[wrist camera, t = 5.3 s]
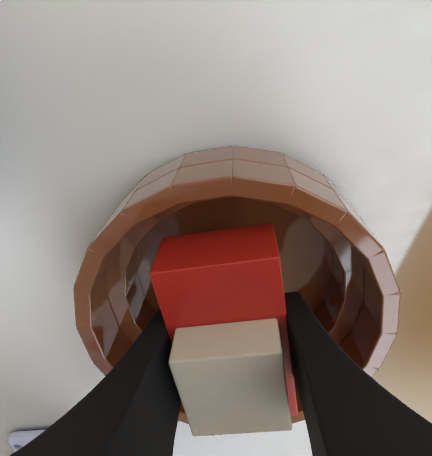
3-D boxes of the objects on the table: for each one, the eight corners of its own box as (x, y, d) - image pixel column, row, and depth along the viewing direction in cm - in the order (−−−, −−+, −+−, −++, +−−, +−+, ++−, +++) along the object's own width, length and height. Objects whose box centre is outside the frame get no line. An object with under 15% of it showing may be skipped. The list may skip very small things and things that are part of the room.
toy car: (287, 353, 15) (305, 455, 11) (202, 360, 16) (191, 461, 12) (270, 213, 12) (286, 288, 8) (165, 227, 13) (136, 305, 9)
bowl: (360, 346, 18) (392, 421, 14) (147, 365, 19) (127, 438, 15) (362, 120, 13) (411, 148, 9) (74, 168, 14) (19, 209, 11)
